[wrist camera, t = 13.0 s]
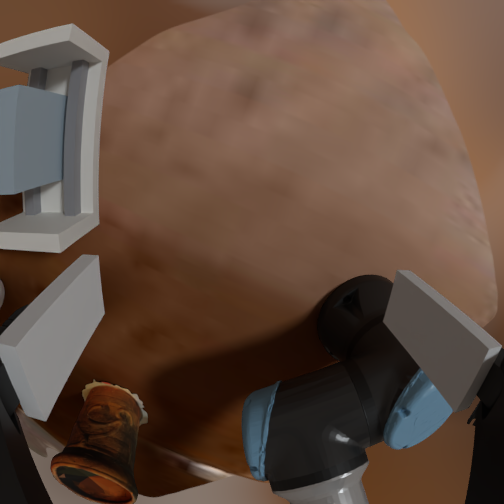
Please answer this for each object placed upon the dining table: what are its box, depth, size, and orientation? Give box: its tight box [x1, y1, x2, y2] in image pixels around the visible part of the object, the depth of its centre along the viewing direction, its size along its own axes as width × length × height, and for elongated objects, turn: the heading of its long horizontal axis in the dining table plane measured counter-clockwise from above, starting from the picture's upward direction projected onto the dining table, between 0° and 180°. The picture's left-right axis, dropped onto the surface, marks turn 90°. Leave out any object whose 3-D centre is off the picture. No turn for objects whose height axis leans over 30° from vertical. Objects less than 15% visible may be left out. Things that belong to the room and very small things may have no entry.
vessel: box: [51, 380, 148, 504], centre depth 41 cm, size 14×14×20 cm
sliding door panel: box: [0, 85, 68, 195], centre depth 27 cm, size 11×4×12 cm, turn 175°
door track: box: [0, 24, 109, 253], centre depth 29 cm, size 24×12×12 cm, turn 175°
